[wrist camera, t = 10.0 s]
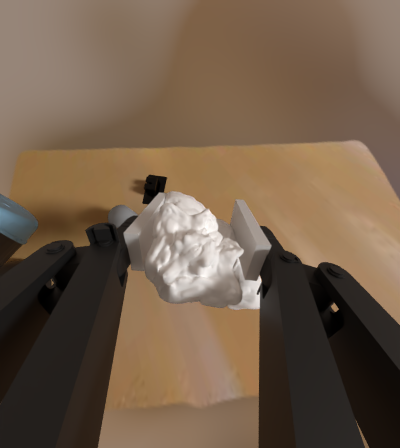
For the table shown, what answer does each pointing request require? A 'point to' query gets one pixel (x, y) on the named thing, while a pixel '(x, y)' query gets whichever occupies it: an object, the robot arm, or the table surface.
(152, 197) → the notched block on base
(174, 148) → the table surface
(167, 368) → the table surface
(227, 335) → the table surface
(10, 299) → the robot arm
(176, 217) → the bust
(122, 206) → the grey rounded cylinder
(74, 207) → the table surface
